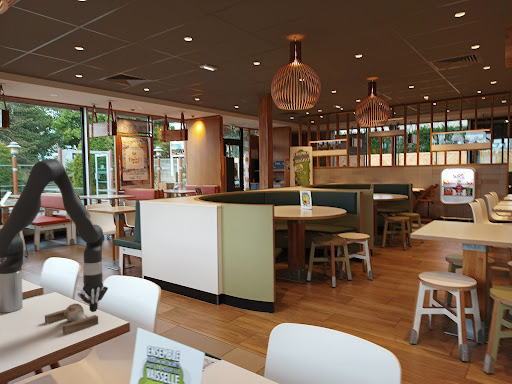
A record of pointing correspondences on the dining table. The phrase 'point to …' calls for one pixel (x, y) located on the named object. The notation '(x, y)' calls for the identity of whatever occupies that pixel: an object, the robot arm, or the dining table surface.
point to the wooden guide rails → (74, 325)
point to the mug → (74, 313)
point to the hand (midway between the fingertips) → (93, 311)
